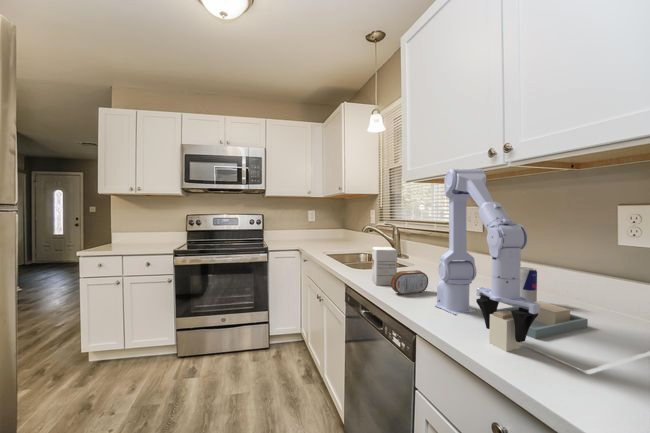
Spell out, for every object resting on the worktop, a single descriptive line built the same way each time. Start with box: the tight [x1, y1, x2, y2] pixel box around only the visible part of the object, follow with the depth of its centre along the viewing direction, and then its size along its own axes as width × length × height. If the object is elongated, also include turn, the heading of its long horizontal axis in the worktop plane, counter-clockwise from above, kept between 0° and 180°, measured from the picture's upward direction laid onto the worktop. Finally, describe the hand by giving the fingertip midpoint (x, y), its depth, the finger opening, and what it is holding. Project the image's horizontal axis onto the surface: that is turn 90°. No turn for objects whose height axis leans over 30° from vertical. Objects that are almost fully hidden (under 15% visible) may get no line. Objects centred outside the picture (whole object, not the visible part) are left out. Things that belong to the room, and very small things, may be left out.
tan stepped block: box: [535, 300, 571, 325], centre depth 84 cm, size 8×6×4 cm
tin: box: [390, 269, 429, 295], centre depth 113 cm, size 15×3×8 cm, turn 108°
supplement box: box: [371, 246, 398, 286], centre depth 129 cm, size 9×9×15 cm
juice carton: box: [488, 310, 521, 352], centre depth 70 cm, size 4×4×8 cm
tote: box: [497, 306, 589, 340], centre depth 82 cm, size 14×20×3 cm
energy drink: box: [520, 266, 538, 302], centre depth 100 cm, size 5×5×12 cm
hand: (504, 334), depth 70 cm, fingers open, 7 cm apart
